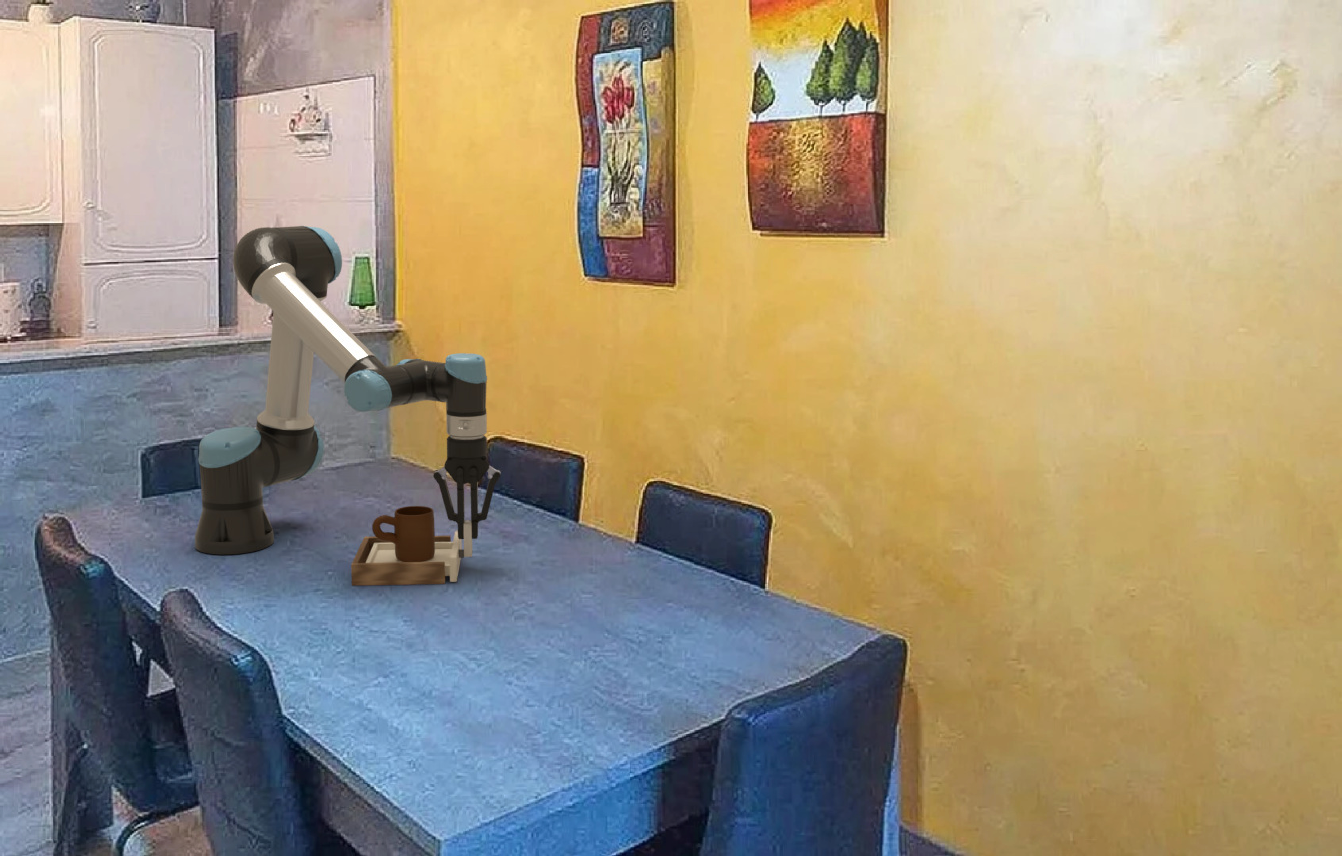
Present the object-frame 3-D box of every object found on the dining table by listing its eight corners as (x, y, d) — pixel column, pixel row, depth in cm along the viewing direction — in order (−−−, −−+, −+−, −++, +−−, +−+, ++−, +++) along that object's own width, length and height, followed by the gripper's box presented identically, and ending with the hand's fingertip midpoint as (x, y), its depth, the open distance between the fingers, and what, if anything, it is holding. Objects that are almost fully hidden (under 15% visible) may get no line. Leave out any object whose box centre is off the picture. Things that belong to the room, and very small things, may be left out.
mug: (378, 568, 226) (377, 520, 224) (367, 557, 232) (366, 510, 230) (440, 560, 231) (439, 513, 230) (427, 549, 238) (426, 503, 236)
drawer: (363, 583, 222) (362, 558, 221) (375, 554, 239) (374, 531, 238) (462, 581, 224) (461, 557, 223) (466, 553, 241) (466, 530, 241)
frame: (351, 585, 222) (351, 564, 221) (365, 555, 239) (364, 536, 239) (444, 583, 224) (444, 563, 223) (450, 554, 241) (450, 535, 241)
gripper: (430, 439, 224) (432, 561, 228) (500, 439, 225) (501, 560, 230) (433, 431, 231) (435, 549, 236) (501, 431, 232) (502, 548, 237)
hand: (468, 554), depth 233 cm, fingers closed
